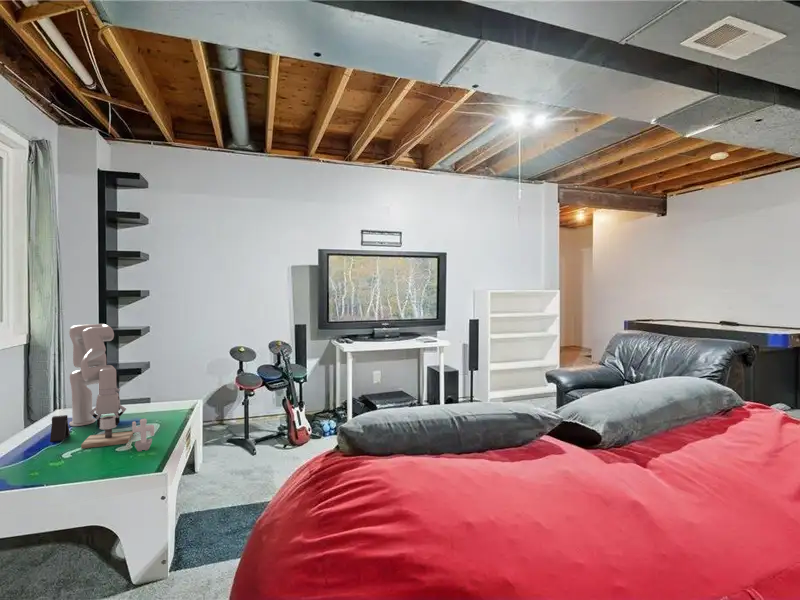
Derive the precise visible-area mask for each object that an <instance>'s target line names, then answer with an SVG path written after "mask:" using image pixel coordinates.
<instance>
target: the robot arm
mask: <svg viewBox="0 0 800 600" xmlns="http://www.w3.org/2000/svg"><path fill="white" fill-rule="evenodd" d="M68 332H69V333H68V335H69V337H70V340H71V342H72V349H73V351H72V364H73V366H74V367H75V368H78V369H76V370H73V371H72V372H71V373H70V374H69V382H70V388H71V411H72V412H71V413H72V416H71V417H72V421H71V420H70V422H68V426H71V427H80V426H86V425H87V426H88V425H91V424H94V423H95V422H96V426H97V427H98V428H100V420H99V419H100V418H101V416H102V415H109V414H111V415H112V414H114V416H116V418H115V421H116V425H117V426H118V425H119V424H120V421H121V420H120V418H121V416H122V415H124V413H125V411H126V410H127V408H126V407H125V406H123V405H122V404H121V399H120V395H119V392H120V390H121V389H120V388H118V386H117V369H116V368H115V367H114V366H113V365H111V364H107V354H106V351H107V349H106V345H105V342H111V341H112V340H114V337H115V333H114V329H113V328H112V327H111V326H110V325H107V324H105V323H89V324H86V323H85V324H77V325H72V326H71V327H70V328H69V331H68ZM96 384H98V395H97V397H96V404H95V407H94V408H93V392H92V390H91V389H90V388H89V387H87V386H91V385H96Z"/></svg>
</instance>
